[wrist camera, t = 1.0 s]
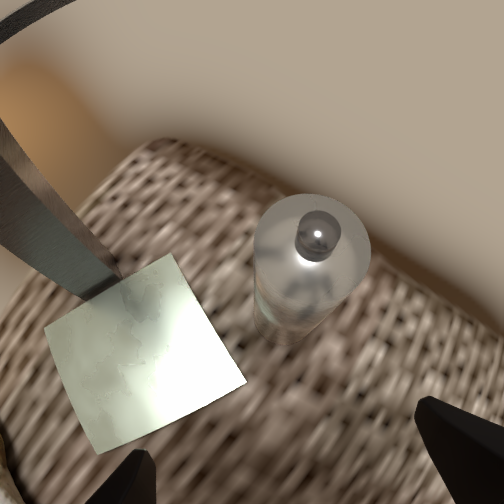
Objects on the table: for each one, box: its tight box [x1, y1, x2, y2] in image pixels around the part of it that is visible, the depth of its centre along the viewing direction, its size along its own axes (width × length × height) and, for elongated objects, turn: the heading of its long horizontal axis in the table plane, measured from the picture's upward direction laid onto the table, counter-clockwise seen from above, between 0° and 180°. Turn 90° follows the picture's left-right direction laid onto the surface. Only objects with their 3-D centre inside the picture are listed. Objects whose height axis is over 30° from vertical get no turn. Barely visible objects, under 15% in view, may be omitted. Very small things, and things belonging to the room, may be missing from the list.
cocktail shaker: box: [254, 194, 371, 345], centre depth 17 cm, size 5×5×14 cm
